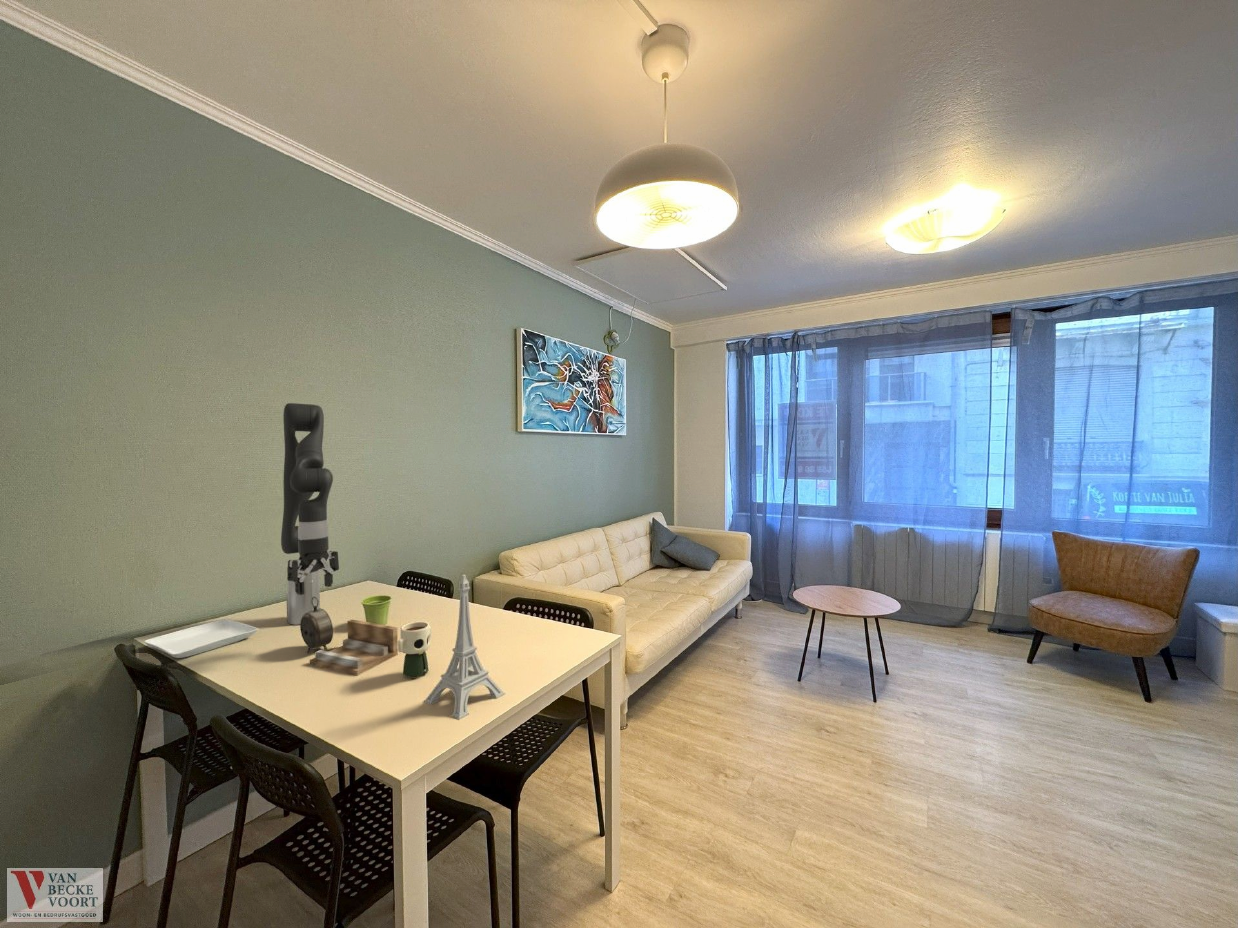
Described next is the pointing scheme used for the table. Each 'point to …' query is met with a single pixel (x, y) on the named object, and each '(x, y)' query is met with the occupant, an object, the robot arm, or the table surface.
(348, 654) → the track board
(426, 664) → the character mug
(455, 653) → the eiffel tower
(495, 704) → the table surface
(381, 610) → the plant pot
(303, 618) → the alarm clock
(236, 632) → the salad plate
